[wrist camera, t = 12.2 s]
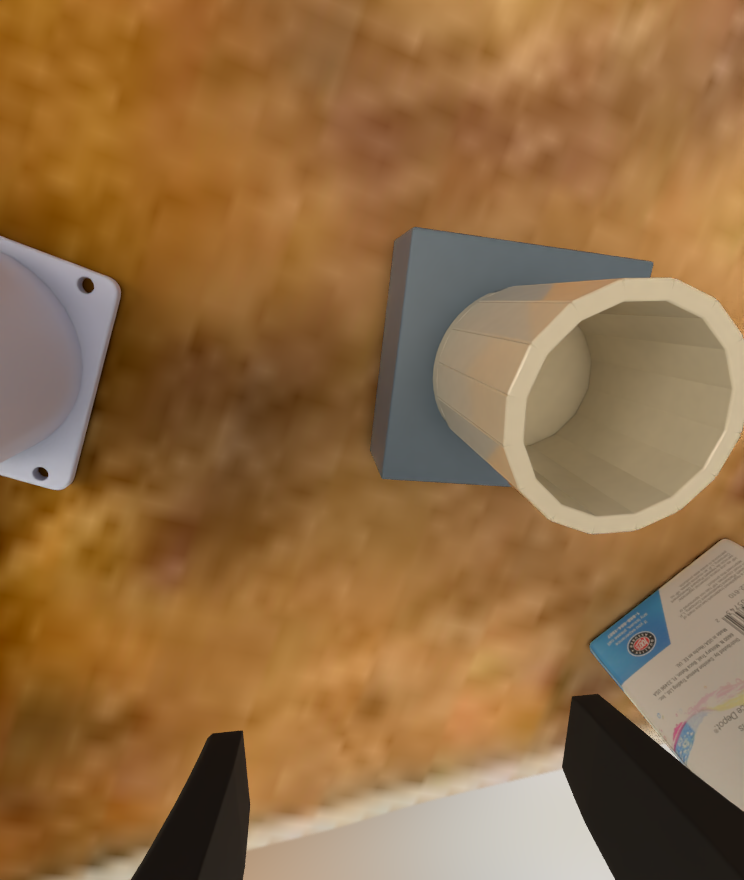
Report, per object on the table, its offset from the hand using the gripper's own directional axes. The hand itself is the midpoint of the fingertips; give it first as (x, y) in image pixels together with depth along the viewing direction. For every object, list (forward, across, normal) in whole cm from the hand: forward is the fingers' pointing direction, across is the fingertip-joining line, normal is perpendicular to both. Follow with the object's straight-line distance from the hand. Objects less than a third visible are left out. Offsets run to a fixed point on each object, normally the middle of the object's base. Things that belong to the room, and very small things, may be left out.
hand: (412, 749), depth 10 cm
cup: (+7, -5, -7) cm, 11 cm away
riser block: (+10, -5, -7) cm, 13 cm away
